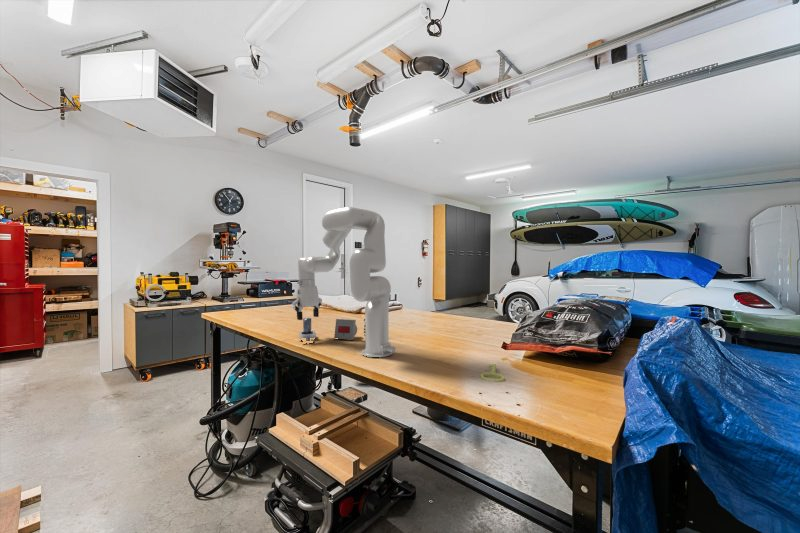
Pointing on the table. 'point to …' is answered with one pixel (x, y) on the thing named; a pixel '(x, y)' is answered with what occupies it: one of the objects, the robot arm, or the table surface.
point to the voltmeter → (346, 329)
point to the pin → (307, 326)
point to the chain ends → (307, 335)
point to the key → (492, 374)
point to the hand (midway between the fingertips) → (308, 318)
